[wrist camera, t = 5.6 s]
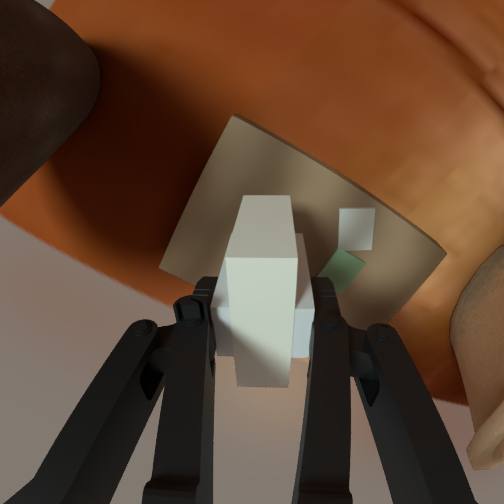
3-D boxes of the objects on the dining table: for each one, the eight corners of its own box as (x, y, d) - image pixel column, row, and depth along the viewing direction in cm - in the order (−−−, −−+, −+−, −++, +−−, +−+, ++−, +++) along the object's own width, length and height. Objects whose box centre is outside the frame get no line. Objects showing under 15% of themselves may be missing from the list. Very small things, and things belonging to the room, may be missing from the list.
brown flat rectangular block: (166, 254, 24) (157, 269, 22) (236, 113, 19) (231, 115, 17) (349, 340, 27) (353, 358, 25) (436, 241, 22) (448, 255, 20)
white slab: (252, 320, 23) (241, 422, 16) (247, 182, 18) (225, 257, 10) (284, 320, 23) (284, 423, 15) (287, 182, 18) (297, 258, 10)
